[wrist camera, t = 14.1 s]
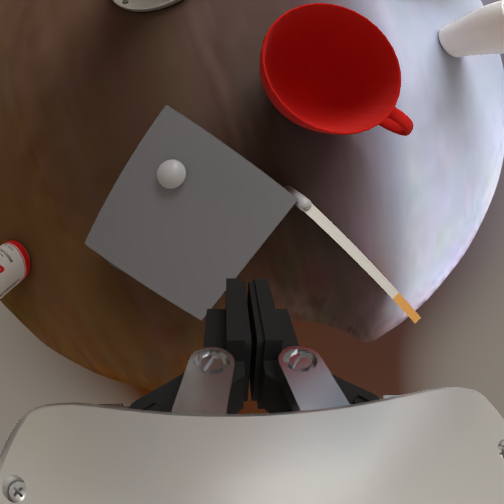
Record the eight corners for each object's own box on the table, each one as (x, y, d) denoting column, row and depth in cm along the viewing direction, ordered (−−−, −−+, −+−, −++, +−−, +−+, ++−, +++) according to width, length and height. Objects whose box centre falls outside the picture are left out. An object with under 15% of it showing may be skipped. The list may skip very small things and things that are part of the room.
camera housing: (183, 115, 30) (164, 103, 21) (281, 185, 34) (300, 201, 24) (110, 229, 34) (75, 258, 25) (200, 289, 38) (193, 334, 28)
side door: (280, 191, 33) (296, 205, 26) (287, 183, 33) (305, 195, 25) (386, 293, 39) (414, 324, 32) (392, 287, 39) (421, 317, 31)
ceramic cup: (354, 174, 34) (395, 187, 24) (231, 101, 30) (231, 83, 21) (398, 94, 30) (446, 85, 21) (286, 18, 26) (304, -20, 17)
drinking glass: (457, 70, 29) (530, 61, 14) (427, 37, 27) (497, 13, 13) (469, 47, 27) (536, 34, 13) (440, 15, 25) (505, -9, 11)
